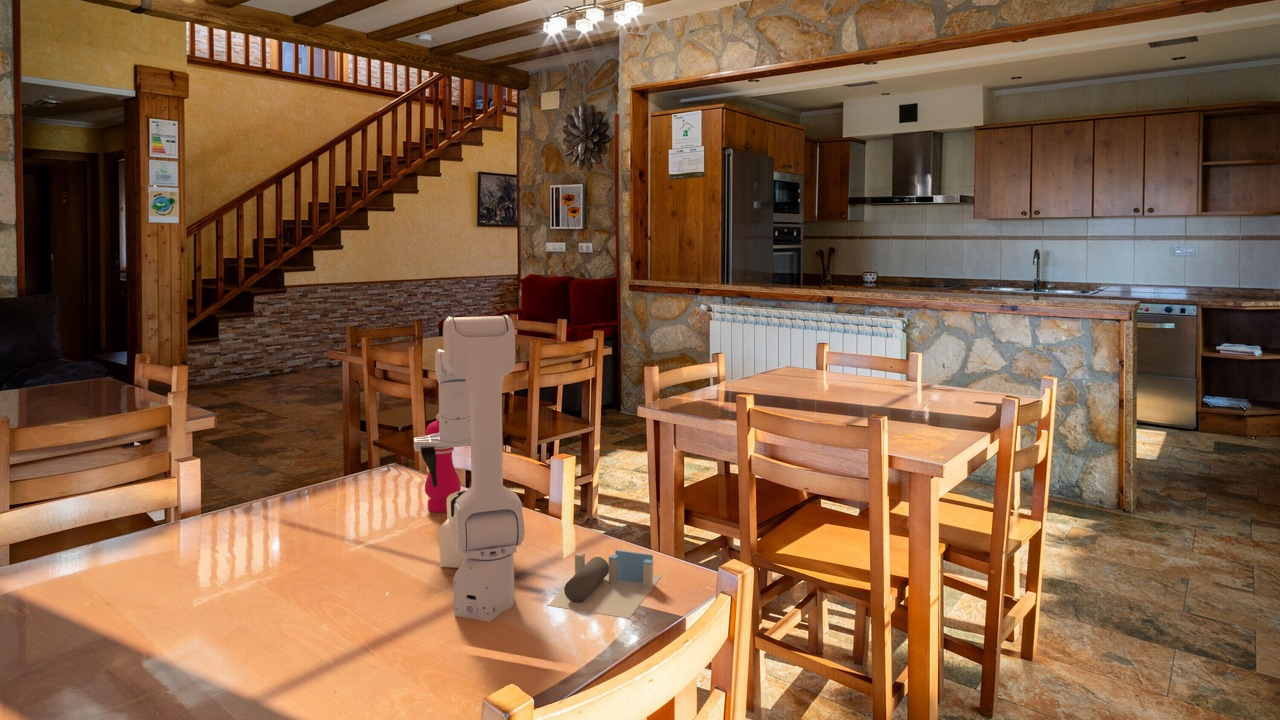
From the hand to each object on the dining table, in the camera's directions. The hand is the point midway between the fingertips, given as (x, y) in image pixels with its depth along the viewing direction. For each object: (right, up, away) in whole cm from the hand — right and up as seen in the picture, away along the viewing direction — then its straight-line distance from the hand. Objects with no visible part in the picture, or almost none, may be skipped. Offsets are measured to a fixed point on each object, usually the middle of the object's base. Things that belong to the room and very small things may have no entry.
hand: (455, 482), depth 152 cm
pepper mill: (-7, -8, +18) cm, 21 cm away
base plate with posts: (+29, -14, -23) cm, 40 cm away
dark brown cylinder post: (+26, -13, -23) cm, 37 cm away
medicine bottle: (+4, -12, -9) cm, 16 cm away
